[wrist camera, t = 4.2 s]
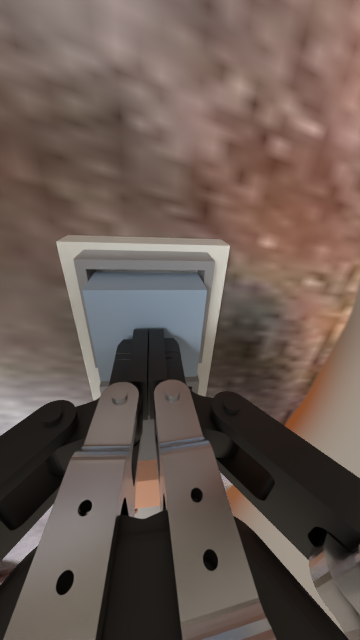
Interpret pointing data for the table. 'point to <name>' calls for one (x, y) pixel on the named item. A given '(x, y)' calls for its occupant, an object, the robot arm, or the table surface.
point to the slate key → (145, 313)
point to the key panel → (144, 257)
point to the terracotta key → (147, 485)
